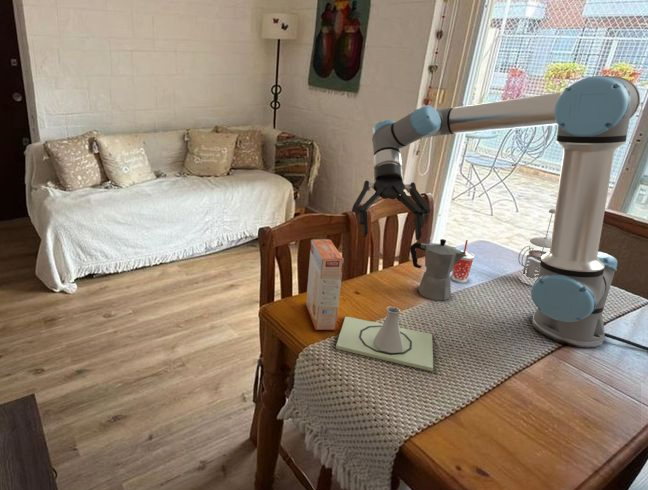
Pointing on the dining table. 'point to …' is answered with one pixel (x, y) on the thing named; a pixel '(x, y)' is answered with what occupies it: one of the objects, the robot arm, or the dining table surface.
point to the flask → (390, 333)
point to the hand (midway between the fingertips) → (391, 236)
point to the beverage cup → (463, 267)
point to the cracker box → (324, 284)
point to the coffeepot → (436, 268)
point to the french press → (536, 253)
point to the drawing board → (361, 341)
